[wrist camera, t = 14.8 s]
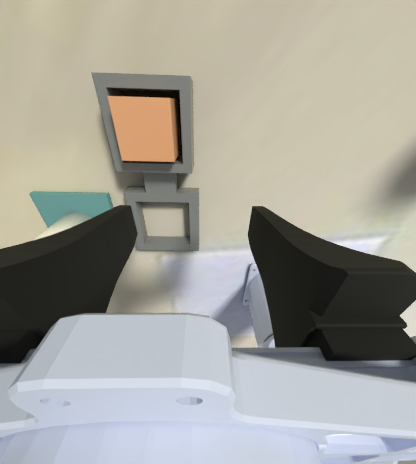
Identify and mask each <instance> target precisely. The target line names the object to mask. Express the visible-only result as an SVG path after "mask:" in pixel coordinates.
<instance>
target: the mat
mask: <svg viewBox="0 0 416 464" xmlns="http://www.w3.org/2000/svg"><path fill="white" fill-rule="evenodd" d="M30 196H31V198H32V200H33V202H34V203H35V205H36V207H37V209H38V211H39V213H40V214H41V216H42V218H43V220H44V222H45V223H46V225H47V227H48V228H49V227H50V226H51V225H53V224H54V223H55V222H56V221H58V220H59V219H60V218H62V217H63V216H64V215H65V214H67V213H68V212H72V211H78V212H82V213H85V214H87V215H89V216H90V217H92V218H93V217H95V216H97V215H99V214H101V213H103V212H105V211H108V210H110V209H112V208H113V205H112V202H111V198H110V195H109V193H83V192H32V193H30Z"/></svg>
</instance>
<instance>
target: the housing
mask: <svg viewBox="0 0 416 464" xmlns="http://www.w3.org/2000/svg"><path fill="white" fill-rule="evenodd" d="M92 77H93V81H94V85H95V89H96V93H97V97H98V101H99V105H100V109H101V113H102V117H103V121H104V125H105V129H106V133H107V137H108V141H109V145H110V149H111V153H112V157H113V161H114V165H115V169H116V172H143V178H144V184H145V187H128V188H127V189H126V190H125V191H124V192H123V193H124V197H125V201H126V205H131V208H132V212H133V216H134V221H135V225H136V229H137V233H138V235H137V238H136V246H137V250H176V251H199V188H178V182H177V173H192V171H193V166H194V142H193V81H192V79H191V77H190V76H174V75H146V74H119V73H92ZM122 90H137V91H166V92H180V111H181V132H182V153H183V156H177V158H176V160H175V162H158V161H122V158H121V154H120V149H119V145H118V140H117V136H116V132H115V127H114V123H113V118H112V114H111V109H110V105H109V100H108V96H123V92H122ZM141 202H181V203H189V221H190V237H155V236H147V231H146V226H145V221H144V216H143V211H142V205H141Z"/></svg>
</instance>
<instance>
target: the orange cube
mask: <svg viewBox="0 0 416 464" xmlns="http://www.w3.org/2000/svg"><path fill="white" fill-rule="evenodd" d="M108 100H109V105H110V109H111V114H112V118H113V123H114V127H115V132H116V136H117V140H118V145H119V149H120V154H121V158H122V161H158V162H175V160H176V158H177V156H178V154H179V153H180V137H179V118H178V100H177V99H173V98H157V97H126V96H108Z"/></svg>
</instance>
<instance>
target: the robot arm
mask: <svg viewBox="0 0 416 464" xmlns="http://www.w3.org/2000/svg"><path fill="white" fill-rule="evenodd" d="M137 235H138V233H137V229H136V225H135V221H134V216H133V212H132V208H131V205H120V206H117V207H114V208H112V209H110V210H108V211H105V212H103V213H101V214H99V215H97V216H95V217H93V218H91V219H89V220H87V221H85V222H82V223H80V224H78V225H76V226H73V227H71V228H69V229H66V230H63V231H61V232H58V233H55V234H52V235H49V236H46V237H43V238H40V239H36V240H33V241H30V242H26V243H23V244H19V245H15V246H11V247H7V248H3V249H0V464H397V463H398V461H405V460H416V336H414V337H411V338H410V337H409V336H408V335H407V333H406V332H405V331H404V330H403V329H405V328H406V327H407V324H406V323H405V321H404V320H403V319H402V318H401V317H400V315H401V314H402V313H403V312H404V311H405V310H406V309H407V308H408V307H409V306H410V305H411V304H412V303H413V302H414V301H415V300H416V273H415V272H414V271H413V270H412V269H410V268H409V267H408V266H407V265H405V264H404V263H402V262H401V261H397V260H392V259H388V258H383V257H379V256H375V255H370V254H367V253H363V252H359V251H356V250H353V249H349V248H346V247H343V246H340V245H337V244H334V243H332V242H329V241H326V240H324V239H321V238H319V237H316V236H314V235H312V234H310V233H308V232H306V231H304V230H302V229H300V228H298V227H296V226H294V225H293V224H291V223H289V222H287V221H286V220H284V219H283V218H281V217H279V216H278V215H276V214H275V213H273V212H272V211H270V210H269V209H267V208H265V207H263V206H252V212H251V218H250V225H249V231H248V238H249V244H250V248H251V251H252V254H253V257H254V260H255V262H256V263H254V264H251V265H250V269H249V274H248V278H247V283H246V288H245V292H244V297H243V302H242V304H243V306H249V310H250V314H251V319H252V324H253V328H254V333H255V338H256V341H257V344H258V346H259V348H231V341H230V336H229V334H228V331H227V328H226V327H225V326H224V325H223V324H221V323H219V322H217V321H216V320H214V319H212V318H211V317H209V316H205V315H198V314H191V313H106V311H107V308H108V305H109V301H110V298H111V296H112V293H113V290H114V287H115V285H116V282H117V280H118V278H119V276H120V274H121V272H122V270H123V268H124V266H125V264H126V262H127V260H128V258H129V256H130V254H131V252H132V250H133V248H134V245H135V242H136V238H137ZM252 269H253V270H252Z"/></svg>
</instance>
